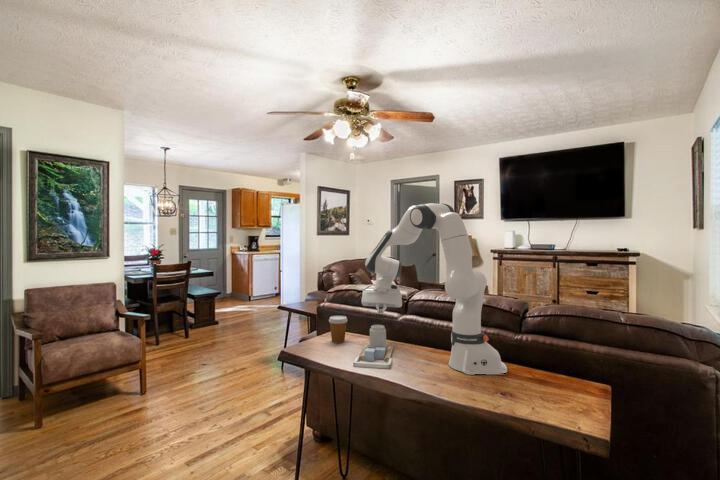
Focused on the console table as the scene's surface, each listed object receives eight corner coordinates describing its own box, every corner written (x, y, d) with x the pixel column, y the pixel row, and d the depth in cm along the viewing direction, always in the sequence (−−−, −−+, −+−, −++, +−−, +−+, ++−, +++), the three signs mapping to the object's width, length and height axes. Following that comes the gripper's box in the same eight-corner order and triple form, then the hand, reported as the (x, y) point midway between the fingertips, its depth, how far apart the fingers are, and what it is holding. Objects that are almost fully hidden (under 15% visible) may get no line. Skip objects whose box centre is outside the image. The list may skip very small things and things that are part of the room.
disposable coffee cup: (347, 344, 177) (347, 319, 176) (327, 344, 177) (327, 319, 177) (348, 338, 186) (348, 315, 186) (329, 338, 186) (329, 315, 186)
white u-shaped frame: (391, 361, 152) (391, 358, 152) (389, 368, 144) (389, 364, 144) (357, 359, 155) (357, 356, 155) (353, 366, 147) (353, 362, 147)
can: (367, 353, 163) (367, 327, 162) (373, 348, 169) (372, 323, 169) (383, 355, 160) (383, 328, 160) (388, 350, 167) (388, 324, 166)
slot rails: (393, 349, 168) (393, 346, 168) (389, 361, 152) (389, 357, 152) (365, 348, 170) (365, 344, 170) (359, 359, 155) (359, 356, 154)
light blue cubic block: (375, 357, 157) (375, 348, 157) (373, 361, 153) (373, 351, 153) (366, 357, 158) (366, 348, 158) (364, 360, 154) (364, 351, 154)
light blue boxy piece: (385, 356, 159) (385, 347, 159) (384, 359, 156) (384, 350, 155) (376, 355, 160) (376, 346, 160) (375, 358, 156) (375, 349, 156)
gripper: (362, 285, 184) (358, 308, 174) (402, 286, 180) (400, 310, 171) (363, 292, 188) (360, 315, 179) (403, 294, 184) (401, 317, 175)
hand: (380, 313), depth 175 cm, fingers closed
